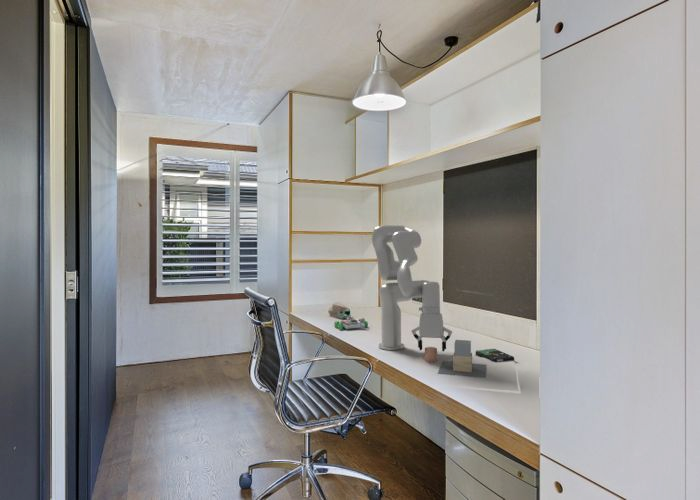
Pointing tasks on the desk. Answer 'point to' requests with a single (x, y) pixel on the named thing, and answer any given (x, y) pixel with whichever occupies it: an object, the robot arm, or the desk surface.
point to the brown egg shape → (430, 354)
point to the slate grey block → (462, 348)
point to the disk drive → (494, 355)
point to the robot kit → (350, 322)
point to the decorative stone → (337, 310)
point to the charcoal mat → (477, 371)
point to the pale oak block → (462, 363)
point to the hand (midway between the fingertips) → (432, 350)
